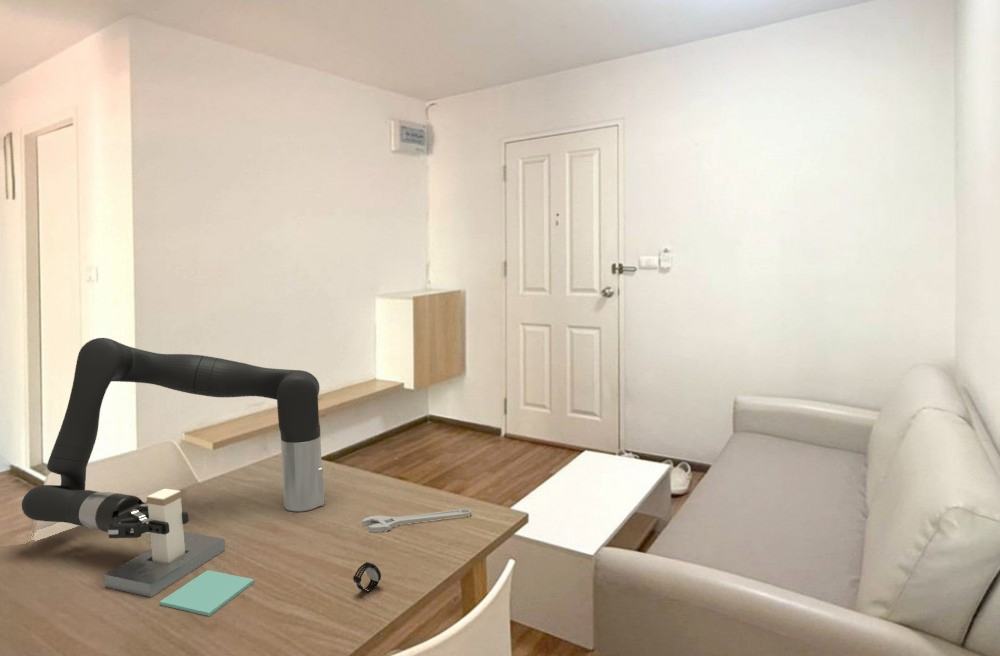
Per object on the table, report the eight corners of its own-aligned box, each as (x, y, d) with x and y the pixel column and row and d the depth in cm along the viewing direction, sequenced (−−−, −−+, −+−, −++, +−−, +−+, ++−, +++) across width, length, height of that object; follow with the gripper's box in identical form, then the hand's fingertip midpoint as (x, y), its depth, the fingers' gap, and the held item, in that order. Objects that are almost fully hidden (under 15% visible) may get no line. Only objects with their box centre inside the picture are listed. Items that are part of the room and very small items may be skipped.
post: (169, 554, 119) (164, 488, 117) (185, 557, 118) (180, 490, 116) (152, 564, 115) (146, 496, 113) (168, 567, 114) (163, 499, 112)
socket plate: (183, 542, 127) (183, 531, 126) (225, 549, 123) (224, 538, 123) (105, 587, 110) (104, 574, 109) (151, 597, 106) (149, 584, 106)
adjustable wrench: (470, 514, 141) (470, 507, 141) (474, 526, 135) (474, 518, 135) (363, 522, 136) (363, 515, 136) (363, 535, 130) (362, 528, 130)
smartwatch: (383, 591, 108) (382, 565, 108) (356, 599, 105) (355, 573, 105) (375, 580, 112) (374, 555, 111) (349, 588, 109) (348, 563, 108)
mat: (207, 572, 114) (207, 570, 114) (254, 582, 111) (254, 579, 111) (159, 604, 104) (159, 601, 104) (209, 616, 101) (209, 612, 101)
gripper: (75, 509, 112) (144, 521, 107) (140, 481, 126) (204, 491, 121) (79, 546, 113) (147, 559, 108) (143, 514, 127) (207, 525, 122)
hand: (177, 523), depth 114 cm, fingers closed on post, 4 cm apart
